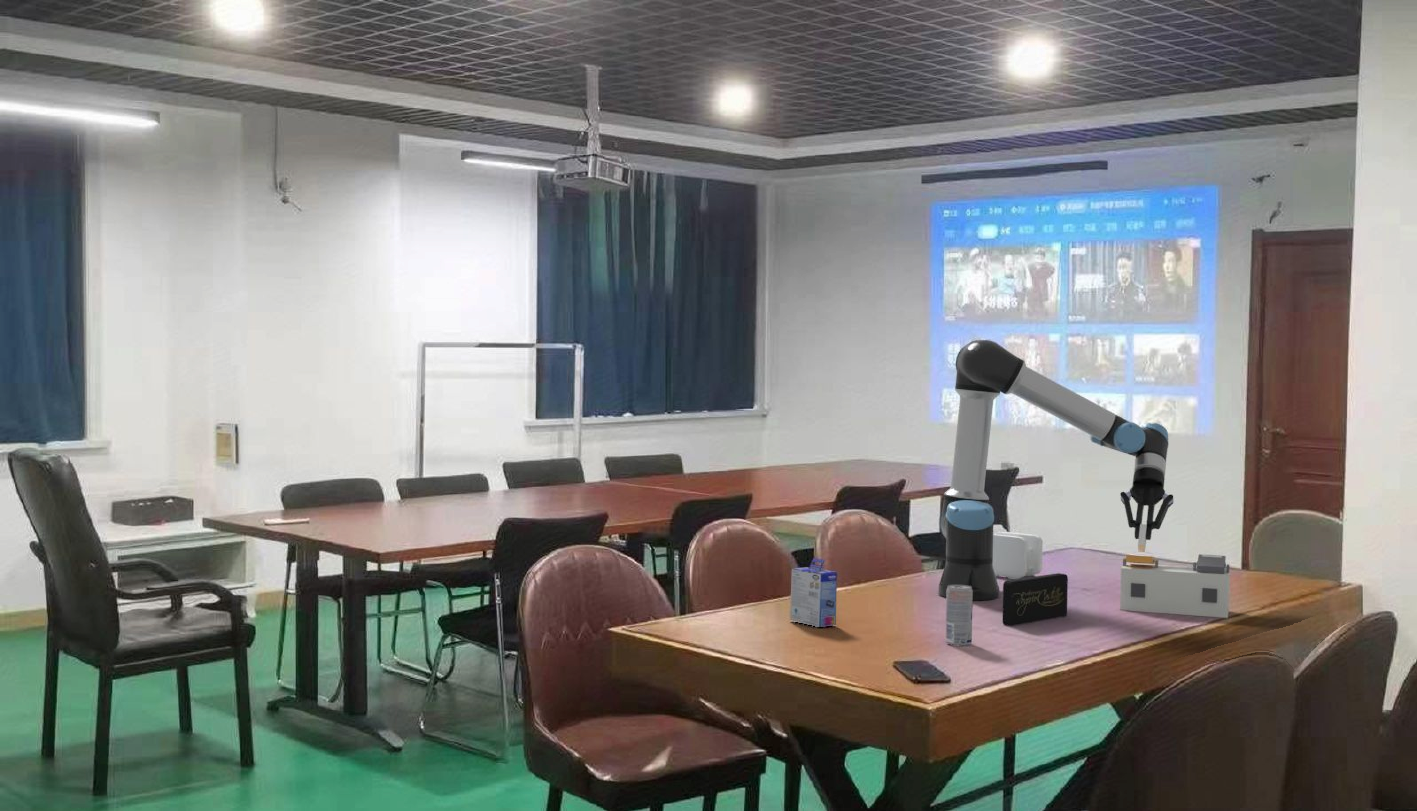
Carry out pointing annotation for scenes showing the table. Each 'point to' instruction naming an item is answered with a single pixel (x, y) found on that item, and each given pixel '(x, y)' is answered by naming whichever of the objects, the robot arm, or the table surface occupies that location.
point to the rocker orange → (1140, 559)
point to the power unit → (1174, 590)
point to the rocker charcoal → (1211, 564)
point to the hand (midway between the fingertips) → (1141, 548)
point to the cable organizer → (1016, 554)
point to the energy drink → (959, 615)
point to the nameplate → (1034, 599)
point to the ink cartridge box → (813, 595)
